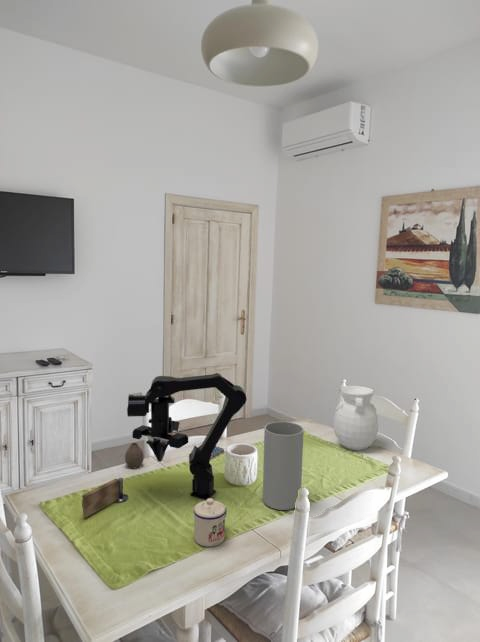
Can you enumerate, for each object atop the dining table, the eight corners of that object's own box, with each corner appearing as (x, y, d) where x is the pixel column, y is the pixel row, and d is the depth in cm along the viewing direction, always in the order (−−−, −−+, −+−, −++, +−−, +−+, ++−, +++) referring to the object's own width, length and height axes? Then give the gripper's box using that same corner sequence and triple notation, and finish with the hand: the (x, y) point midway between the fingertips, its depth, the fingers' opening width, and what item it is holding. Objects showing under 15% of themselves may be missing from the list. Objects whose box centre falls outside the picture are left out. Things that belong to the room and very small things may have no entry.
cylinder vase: (275, 488, 167) (277, 419, 164) (307, 499, 160) (310, 427, 157) (255, 503, 157) (257, 429, 154) (288, 515, 150) (291, 438, 147)
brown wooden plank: (86, 517, 145) (85, 496, 144) (81, 515, 146) (81, 495, 145) (119, 498, 157) (119, 479, 156) (115, 496, 158) (114, 478, 157)
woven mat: (189, 455, 195) (189, 450, 195) (205, 447, 204) (205, 442, 204) (209, 461, 189) (209, 457, 189) (225, 453, 198) (225, 448, 198)
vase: (139, 470, 179) (139, 448, 178) (121, 468, 180) (121, 446, 179) (146, 463, 186) (146, 441, 185) (129, 461, 187) (129, 439, 186)
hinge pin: (131, 497, 159) (131, 477, 158) (121, 504, 155) (121, 483, 154) (119, 493, 162) (119, 474, 161) (109, 500, 157) (109, 480, 156)
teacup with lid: (211, 551, 131) (212, 511, 129) (186, 539, 136) (186, 501, 135) (237, 532, 141) (238, 494, 139) (213, 521, 146) (214, 485, 144)
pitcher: (331, 436, 217) (334, 382, 214) (373, 439, 215) (376, 385, 211) (333, 453, 199) (336, 394, 196) (379, 456, 196) (383, 397, 193)
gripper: (197, 413, 160) (197, 458, 162) (151, 404, 169) (151, 447, 171) (178, 423, 150) (178, 470, 152) (131, 413, 159) (131, 458, 161)
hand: (160, 461), depth 159 cm, fingers closed
